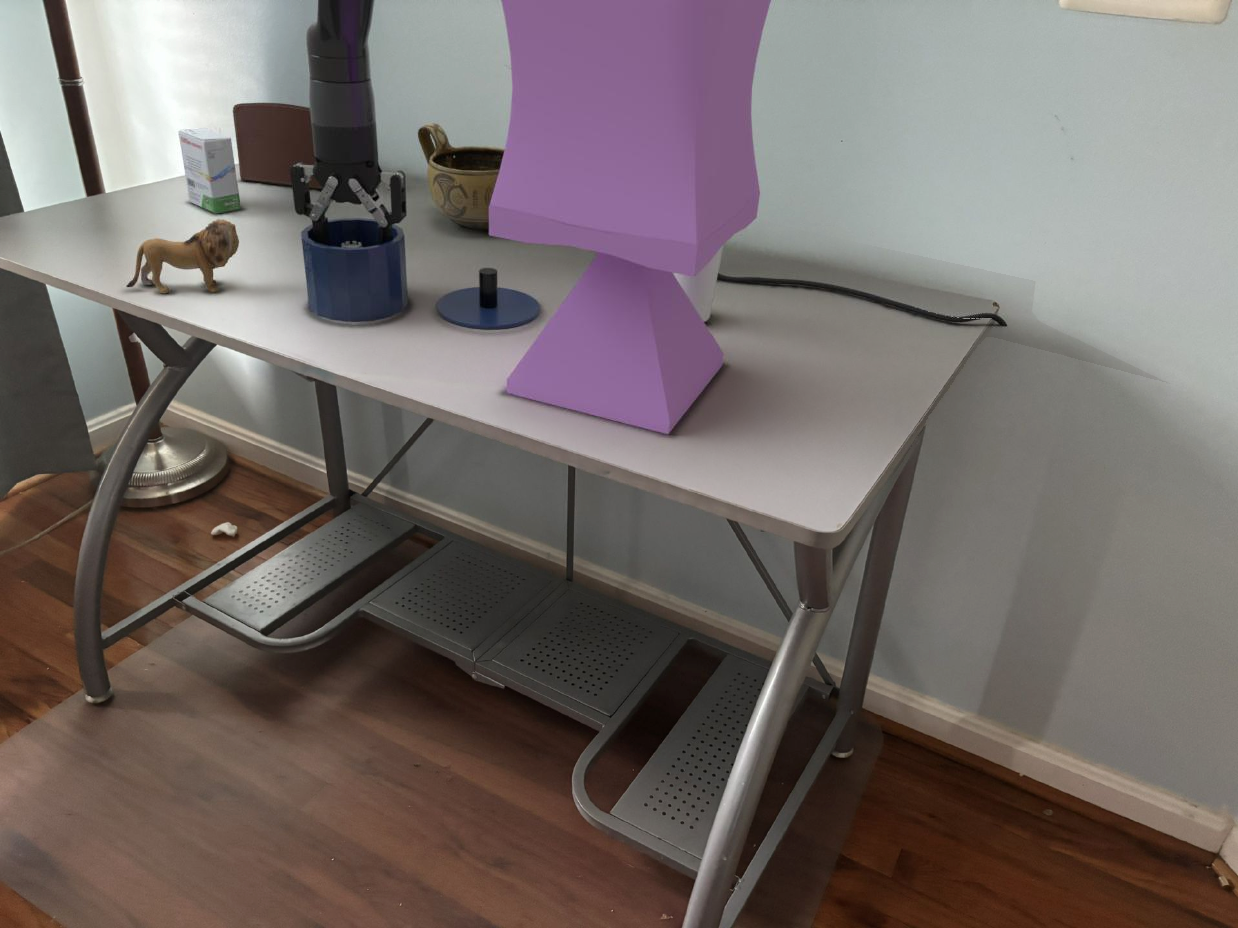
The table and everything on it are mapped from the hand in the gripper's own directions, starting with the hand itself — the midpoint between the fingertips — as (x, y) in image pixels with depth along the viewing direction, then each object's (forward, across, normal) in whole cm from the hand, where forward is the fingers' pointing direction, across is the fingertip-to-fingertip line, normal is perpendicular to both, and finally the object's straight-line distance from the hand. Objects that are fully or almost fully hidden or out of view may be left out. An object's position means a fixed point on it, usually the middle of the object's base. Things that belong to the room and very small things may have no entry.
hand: (354, 250), depth 123 cm
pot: (+8, 0, 0) cm, 8 cm away
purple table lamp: (+8, -36, +14) cm, 39 cm away
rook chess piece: (+7, 0, 0) cm, 7 cm away
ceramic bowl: (+8, -8, -39) cm, 41 cm away
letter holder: (+8, +28, -55) cm, 62 cm away
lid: (+7, -17, -2) cm, 19 cm away
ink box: (+8, +36, -36) cm, 52 cm away
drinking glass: (+8, -44, -7) cm, 45 cm away
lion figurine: (+8, +24, -1) cm, 25 cm away
